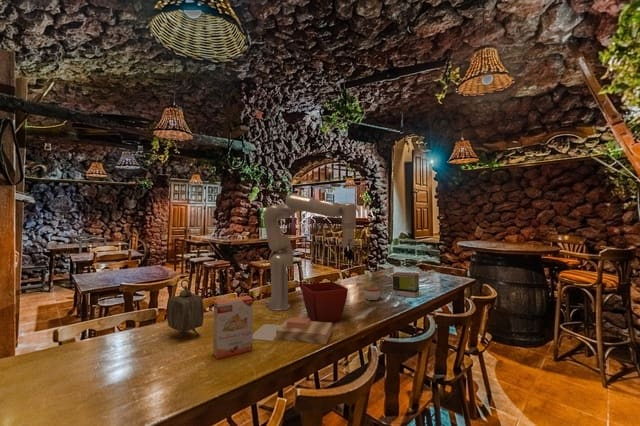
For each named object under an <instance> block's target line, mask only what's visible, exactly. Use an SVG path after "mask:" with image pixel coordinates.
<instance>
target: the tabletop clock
mask: <svg viewBox="0 0 640 426" xmlns="http://www.w3.org/2000/svg"><path fill="white" fill-rule="evenodd" d="M183 282H187V283H188V285H189V286H187V285H185V286H184V285H183ZM180 287H181V288H182V289H183V290H181V291H180V292H179V295H175V296H172V297H171V298H170V299H168V301H167V308H166V309H167V311H166V313H167V314H166V315H167V319H166V320H167V325H168V327H169V328H171V329H173V330H175V331H178V332H180V334H178V338H179V339H181V338H183V333H185V332H189V331H193V333H194V334H195V337H197V338H199V336H200V333H199V332H197V331H196V329H197V328H201V327H203V324H204V316H205V315H204V314H205V313H204V310H205V309H204V301H203V300H204V299H203V298H202V296H200V295H198V294H195V293H192V291H191V290H190V289H191V282H190V281H189V280H187V279H183V280H181V282H180Z"/></svg>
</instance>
